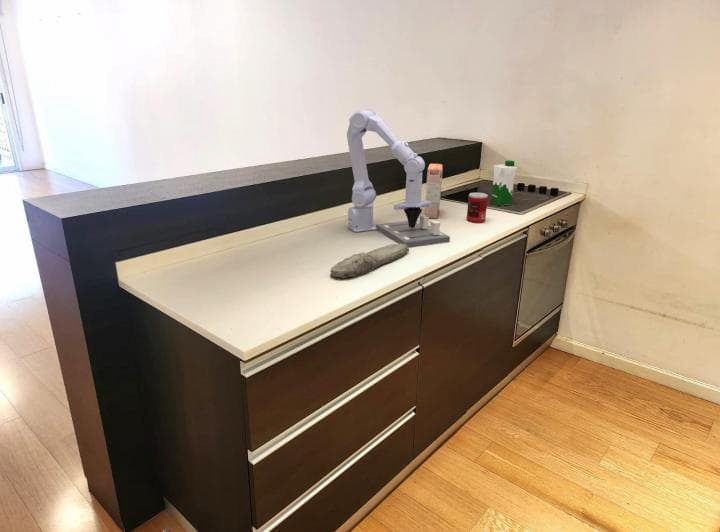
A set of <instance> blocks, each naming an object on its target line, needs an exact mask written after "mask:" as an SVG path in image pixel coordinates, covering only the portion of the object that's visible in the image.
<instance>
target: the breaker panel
mask: <svg viewBox="0 0 720 532" xmlns="http://www.w3.org/2000/svg"><path fill="white" fill-rule="evenodd" d="M419 222H420V220H419V219H417V223H416V224H415V228H411V227H409V223H408V220H404V221H403V220H402V221H393V222H386V223H378V224H375V227H376V228H377V230H376V231H378V232H380V233H381V234H383V235H385V236H386V237H388V238H389V239H390V240H392V241H394V242H395V243H396V244H406V245H407V247H408V248H409V249H410V248H415V247H423V246H429V245H437V244H445V243H450V241H451V240H450V239H451V236H450V235H448V234H445V233H444V232H442V231H440V230H439V235H433V234H431V233H430V227H431V225H428V229H422V228H420V227H419Z"/></svg>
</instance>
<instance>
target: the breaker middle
mask: <svg viewBox="0 0 720 532" xmlns="http://www.w3.org/2000/svg"><path fill="white" fill-rule="evenodd" d="M418 218H419V221H420V222H419V227H420V228H422V229H428V226H429V219H430V218H429V217H427V216H425V215H419V217H418Z"/></svg>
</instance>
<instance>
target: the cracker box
mask: <svg viewBox="0 0 720 532" xmlns="http://www.w3.org/2000/svg"><path fill="white" fill-rule="evenodd" d="M442 181H443V164H441V163H429V165H428V167H427V174H426V186H425V188H426V189H425V200H424V201H431V207H424V215H425V216H427V217H429V219H434V220H435V219H438V217H439V212H440V204H441V192H442Z"/></svg>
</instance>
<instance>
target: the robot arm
mask: <svg viewBox="0 0 720 532" xmlns="http://www.w3.org/2000/svg"><path fill="white" fill-rule="evenodd" d="M348 121H349V125H348V128H347V132H346V140H347V146H348V151H349V152H348V153H349V157H350V163H351V168H352V174H353V181H354V183H353V186H352V188H351V189H352V196H351V202H352V204H353V205H354V206H352V207H349V208H348V211H347V228H348V229H350V230H351V231H352V232H353V233H358V232H368V231H369V232H370V231H375V230H376V231H378V230H377V228H376V226H374V202H375V200H376V199H377V193H376V190H375V189H374V186H373V183H372V182H371V181H370V179H369V174H368V168H367V167H368V166H367V161H366V157H365V156H366V155H365V150H364V144H363V137H364V136H365V134H366V133H367V131H369V132H373V133H376V134H377V135H378V136H379V137H380V138H381V139H382V140H383V141H384V142H385V143H386V144H387V145H389V147H390V148H391V154H392V155H393V156H394V157H395V158H396V159H397V161H399V162H400V164H402V166H403V168H404V169H403V170H404V172H405V173H406V179H405V180H406V181H405V196H404V197H405V200H404V201H403V202H399V203H398V202H397V203H394V204H393V209H394V210H395V211H400V210H403V211H404V213H405V216H406V218H407V221H408V223H409V227H411V228H415V224H416V221H417V220H419V218H420V217H419V216H421V215H420V214H421V213H422V212H423V209H422V208H425V207H431V201H425V200H422V192H423V191H422V189H423V171H424V169H425V167H426V163H425V160H424V159H423V157H422V156H419V155H418V153H416V152H414V151H413V150H412V149H411V148H410V147H409V143H408V142H407V141H406V142H405V141H404V140H403V141H402V140H398V139H397V138H396V136H395V135H394V134H393V132H392V131H391V130H390V129H389V128H388V127H387V125H386V124H385V122H383V120H382V118H381V117H380V116H379V115H378V114H376V112H375V111H374V110H372V109H367V110H358V111H355V112H354V113H353V114H352V115H351V116H350V117H349V119H348Z"/></svg>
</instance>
